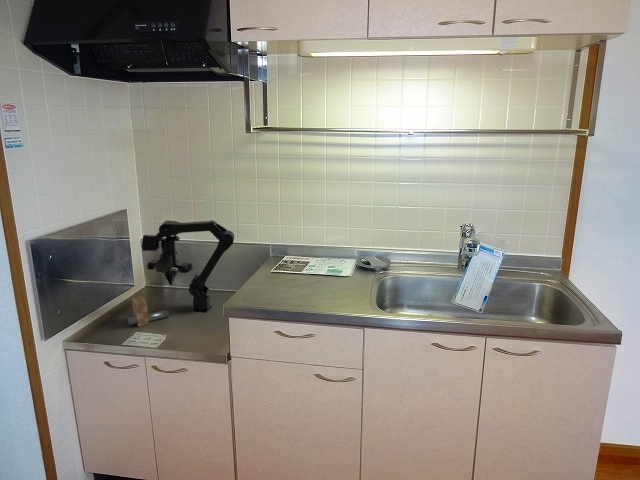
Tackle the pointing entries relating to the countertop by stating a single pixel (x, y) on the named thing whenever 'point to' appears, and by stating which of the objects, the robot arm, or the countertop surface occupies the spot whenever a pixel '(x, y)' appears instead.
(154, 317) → the steel pipe
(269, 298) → the countertop surface
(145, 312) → the rectangular wooden block
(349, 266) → the countertop surface
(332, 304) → the countertop surface
